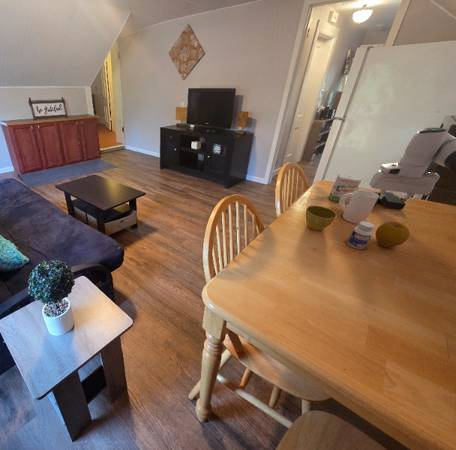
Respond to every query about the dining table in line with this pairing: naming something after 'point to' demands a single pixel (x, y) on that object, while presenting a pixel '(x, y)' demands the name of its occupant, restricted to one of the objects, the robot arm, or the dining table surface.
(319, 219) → the flower pot
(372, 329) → the dining table surface
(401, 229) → the apple
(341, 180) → the ink box
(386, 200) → the small pad
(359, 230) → the pill bottle
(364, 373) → the dining table surface
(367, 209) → the mug
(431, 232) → the dining table surface
